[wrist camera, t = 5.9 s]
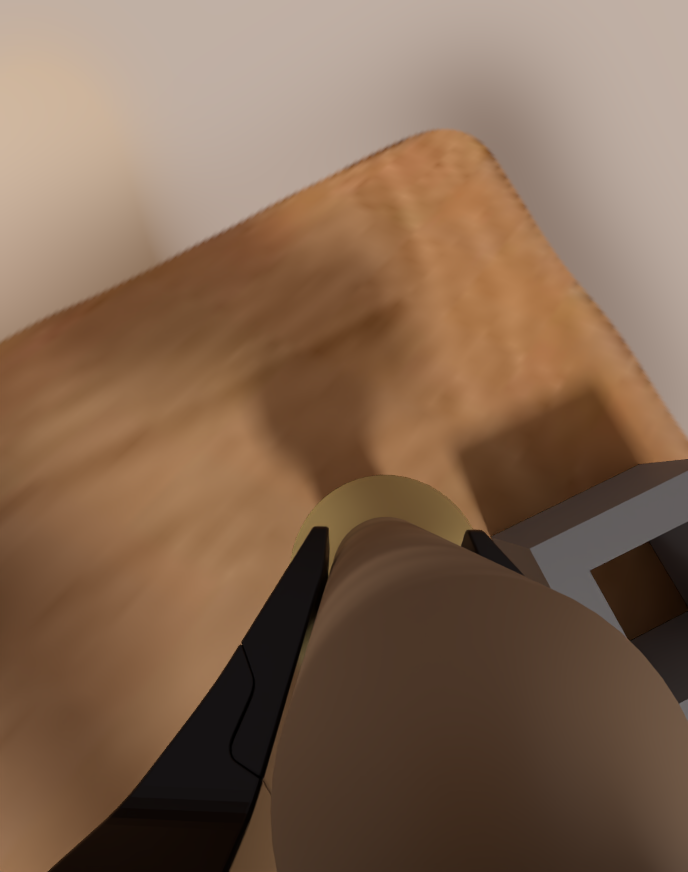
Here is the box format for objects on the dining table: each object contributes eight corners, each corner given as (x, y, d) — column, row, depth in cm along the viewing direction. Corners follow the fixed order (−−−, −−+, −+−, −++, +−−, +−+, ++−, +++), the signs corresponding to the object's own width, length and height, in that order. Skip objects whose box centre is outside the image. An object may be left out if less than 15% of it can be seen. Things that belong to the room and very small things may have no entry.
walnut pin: (343, 655, 15) (286, 1592, 2) (284, 516, 16) (10, 600, 3) (475, 589, 15) (1109, 1072, 2) (409, 457, 16) (615, 319, 4)
